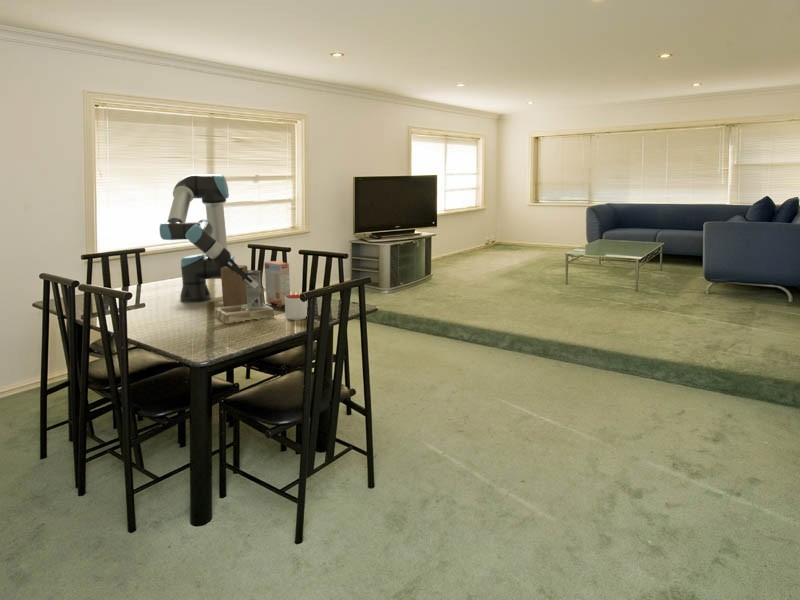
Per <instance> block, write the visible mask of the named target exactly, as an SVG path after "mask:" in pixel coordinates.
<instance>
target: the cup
mask: <svg viewBox="0 0 800 600" xmlns="http://www.w3.org/2000/svg"><path fill="white" fill-rule="evenodd" d="M299 295H300V293H299V294H290V295H288V296H285V305H284V314H285V318H286V319H287V320H289V321H300V320H301V321H302V320H304V319H305V320H306V319H307V318H306V316H307V307H308V300H307V301H305V302H302V301H301V300H300V296H299ZM307 317H308V316H307Z"/></svg>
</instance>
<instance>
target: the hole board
mask: <svg viewBox="0 0 800 600" xmlns="http://www.w3.org/2000/svg"><path fill="white" fill-rule="evenodd" d="M214 315H215V318H217V319H218V318H219V319H218V320H220V321H221V320H222V322H223V323H224V324H225V323H228V324H234V323H233V322H235V323H240V322H239V321H243V322H246V321H245V320H250V321H252V320H251V319H257V320H261V319H260V318H264V319H269V318H268V317H272V318H275V310H274V308H273V307H271V306H269V305H268V304H265V303H264V302H263V305H262V307H261V308H247V304H242V305H234V306H226V307H224V306H219V307H214Z"/></svg>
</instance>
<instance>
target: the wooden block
mask: <svg viewBox="0 0 800 600" xmlns="http://www.w3.org/2000/svg"><path fill="white" fill-rule="evenodd" d="M237 265H238V267H239V268H242V269H243V271H244V272H245V273H246V272H247V271H248V269H249V268H248V266H247V265H246V264H245V265H244V264H237ZM220 280H221V290H222V291H221V292H222V293H221V294H222V305H223V306H222V307H226V306H234V305H242V304H247V292H246V281H245V280H242V277H241V276H239V274H237V273H236V272H235V271H232V270H231V269H230V268H228V267H226V266H225V267H222V268H221V279H220Z"/></svg>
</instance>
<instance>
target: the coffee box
mask: <svg viewBox="0 0 800 600" xmlns="http://www.w3.org/2000/svg"><path fill="white" fill-rule="evenodd" d="M246 274H248V275H249V276H250V277H251V278H252V279H253V280H255V281H256V282H257V283H258V284H259V285H258V286H257V287H256V288H253V287H252V286H251V285H250V284H249V283H247V282H246V292H247V308H261V307H262V305H263V303H264V292H263V290H264V289H263V275H262V274H263V273H262V270H260V269H258V270H257V269H251V270H248V271H247V272H246Z"/></svg>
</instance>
